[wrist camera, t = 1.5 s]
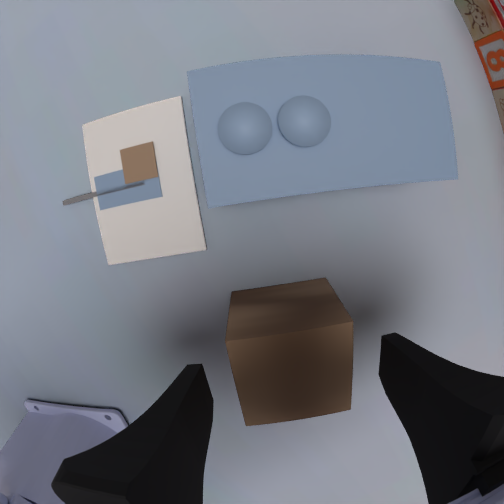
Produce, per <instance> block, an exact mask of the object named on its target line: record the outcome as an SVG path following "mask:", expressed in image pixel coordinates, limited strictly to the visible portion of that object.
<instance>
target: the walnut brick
mask: <svg viewBox="0 0 504 504" xmlns="http://www.w3.org/2000/svg"><path fill="white" fill-rule="evenodd" d="M225 343H226V347H227V352H228V356H229V360H230V364H231V369H232V373H233V377H234V381H235V385H236V389H237V393H238V397H239V401H240V405H241V409H242V413H243V417H244V420H245V424H246V426H252V425H261V424H270V423H278V422H285V421H292V420H299V419H305V418H311V417H316V416H322V415H327V414H332V413H337V412H341V411H346V410H350V409H351V396H352V374H353V320H352V319H351V317H350V315H349V314H348V312H347V311H346V309H345V307H344V306H343V304H342V303H341V301H340V299H339V298H338V296H337V295H336V293H335V292H334V290H333V288H332V287H331V285H330V284H329V282H328V281H327V279H326V278H320V279H313V280H307V281H301V282H294V283H288V284H281V285H275V286H268V287H261V288H254V289H247V290H240V291H233V292H232V293H231V301H230V308H229V315H228V323H227V330H226V338H225Z"/></svg>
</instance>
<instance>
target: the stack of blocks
mask: <svg viewBox="0 0 504 504" xmlns="http://www.w3.org/2000/svg"><path fill="white" fill-rule="evenodd" d="M454 2H455V4H456V6H457V8H458V10H459V11H460V13H461V15H462V17H463V19H464V21H465V23H466V25H467V27H468V30H469V32H470V34H471V36H472V38H473V41H474V44H475V47H476V49H477V52H478V54H479V57H480V59H481V62H482V64H483V67H484V70H485V72H486V75H487V78H488V81H489V84H490V87H491V89H492V93H493V96H494V99H495V103H496V107H497V110H498V113H499V117H500V121H501V125H502V128H503V133H504V0H454Z"/></svg>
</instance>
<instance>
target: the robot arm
mask: <svg viewBox="0 0 504 504" xmlns="http://www.w3.org/2000/svg"><path fill="white" fill-rule="evenodd" d="M379 377H380V379H381V382H382V385H383V388H384V390H385V393H386V395H387V397H388V399H389V400H390V402H391V404H392V406H393V408H394V410H395V411H396V413H397V415H398V417H399V419H400V421H401V422H402V424H403V426H404V428H405V430H406V432H407V434H408V436H409V438H410V441H411V443H412V446H413V449H414V452H415V454H416V457H417V460H418V464H419V467H420V470H421V473H422V477H423V481H424V485H425V489H426V493H427V498H428V503H429V504H504V377H501V376H495V375H490V374H486V373H482V372H478V371H475V370H471V369H469V368H466V367H463V366H460V365H457V364H455V363H452V362H450V361H448V360H446V359H444V358H442V357H439V356H437V355H435V354H434V353H432V352H430V351H428V350H426V349H424V348H422V347H421V346H419V345H417V344H415V343H414V342H412V341H410V340H408V339H407V338H405V337H403V336H401V335H399V334H397V333H391V334H387V335H383V336H382V339H381V353H380V365H379ZM24 405H25V407H26V408H27V410H28V411H29V412H28V413H27V414H26V416H25V417H24V419H23V420H22V421H21V423H20V424H19V426H18V427H17V428H16V430H15V431H14V433H13V434H12V435H11V437H10V438H9V440H8V441H7V443H6V444H5V446H4V447H3V449H2V450H1V452H0V504H203V478H204V467H205V461H206V455H207V450H208V445H209V439H210V434H211V428H212V422H213V397H212V394H211V391H210V388H209V385H208V381H207V378H206V375H205V372H204V368H203V365H202V364H190V365H187V366H186V367H185V368H184V369H183V371H182V372H181V373H180V374H179V375H178V377H177V378H176V379H175V380H174V381H173V383H172V384H171V385H170V386H169V387H168V389H167V390H166V391H165V392H164V393H163V394H162V395H161V397H160V398H159V399H158V400H157V401H156V402H155V403H154V404H153V405H152V406H151V407H150V408H149V409H148V410H147V411H146V412H145V413H144V414H142V415H141V416H140V417H139V418H138V419H136V420H135V421H134V422H133V423H132V424H130V425H129V426H128V425H127V423H126V421H125V419H124V417H123V416H122V414H121V413H120V412H119V411H117V410H113V409H99V408H87V407H77V406H68V405H60V404H53V403H46V402H39V401H33V400H26V401H25V402H24Z"/></svg>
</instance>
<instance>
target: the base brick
mask: <svg viewBox="0 0 504 504" xmlns="http://www.w3.org/2000/svg"><path fill="white" fill-rule="evenodd" d="M187 76H188V83H189V90H190V97H191V104H192V111H193V118H194V125H195V131H196V138H197V144H198V151H199V157H200V163H201V169H202V175H203V181H204V187H205V193H206V199H207V204H208V208H214V207H220V206H226V205H233V204H239V203H245V202H252V201H259V200H266V199H273V198H280V197H287V196H294V195H302V194H310V193H317V192H326V191H334V190H343V189H351V188H361V187H370V186H380V185H391V184H402V183H413V182H426V181H439V180H454V179H458V171H457V159H456V149H455V140H454V132H453V125H452V119H451V112H450V107H449V101H448V96H447V91H446V86H445V81H444V77H443V73H442V68H441V64H440V62H436V61H429V60H422V59H413V58H403V57H392V56H376V55H305V56H289V57H277V58H267V59H258V60H250V61H242V62H235V63H229V64H223V65H217V66H211V67H206V68H201V69H196V70H191V71H187Z"/></svg>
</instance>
